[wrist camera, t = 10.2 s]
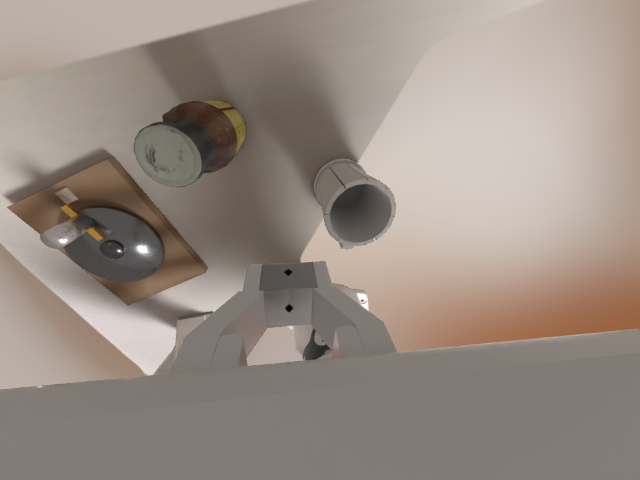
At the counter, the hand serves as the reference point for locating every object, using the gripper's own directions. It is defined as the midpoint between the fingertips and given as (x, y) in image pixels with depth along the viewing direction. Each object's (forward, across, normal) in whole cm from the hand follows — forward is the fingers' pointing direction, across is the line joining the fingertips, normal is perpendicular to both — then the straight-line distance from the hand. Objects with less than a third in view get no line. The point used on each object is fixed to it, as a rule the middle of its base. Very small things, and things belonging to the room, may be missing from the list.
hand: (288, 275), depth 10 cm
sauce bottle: (+29, +8, -3) cm, 30 cm away
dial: (+27, +26, +14) cm, 40 cm away
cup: (+29, -9, +6) cm, 31 cm away
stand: (+29, +26, +14) cm, 41 cm away
